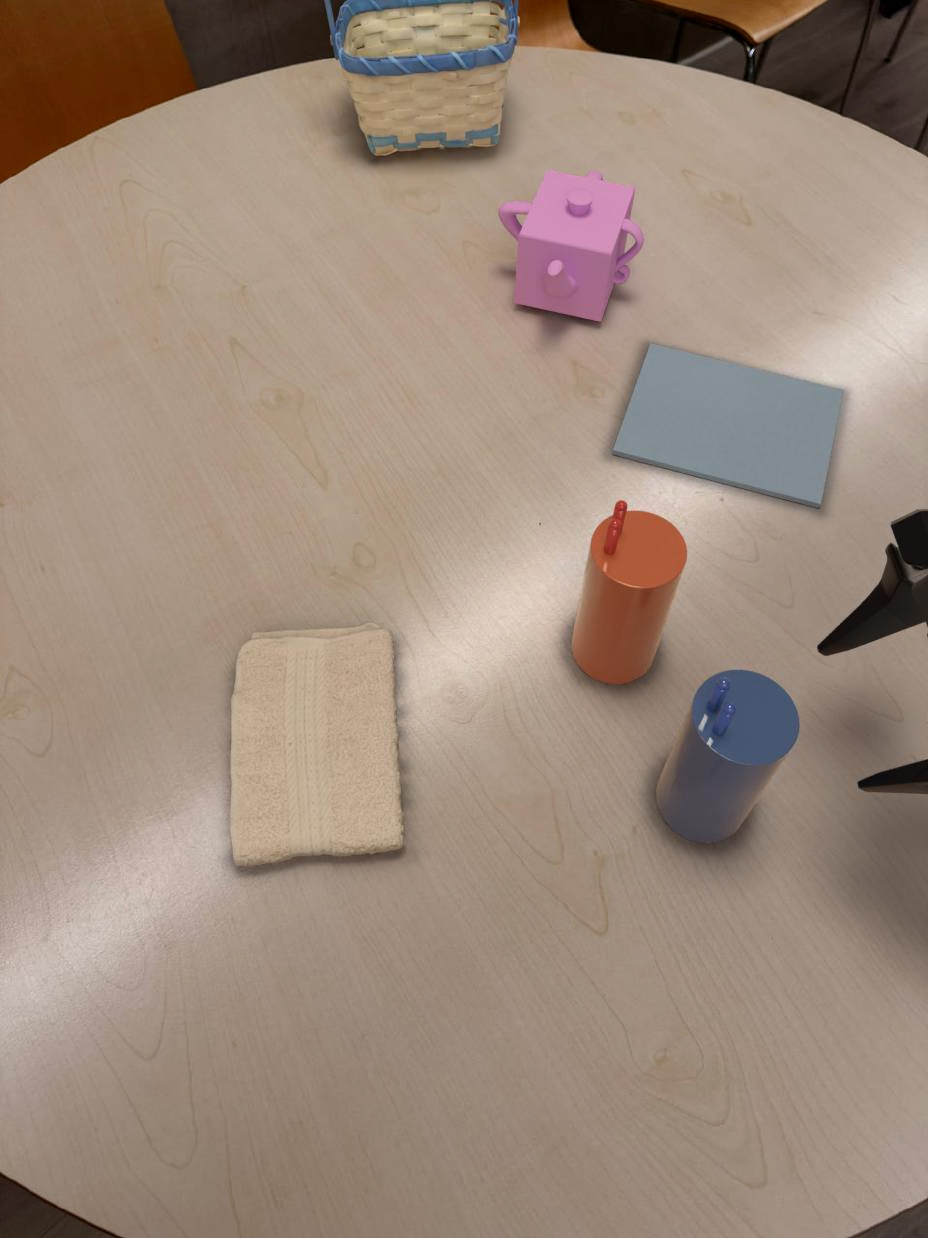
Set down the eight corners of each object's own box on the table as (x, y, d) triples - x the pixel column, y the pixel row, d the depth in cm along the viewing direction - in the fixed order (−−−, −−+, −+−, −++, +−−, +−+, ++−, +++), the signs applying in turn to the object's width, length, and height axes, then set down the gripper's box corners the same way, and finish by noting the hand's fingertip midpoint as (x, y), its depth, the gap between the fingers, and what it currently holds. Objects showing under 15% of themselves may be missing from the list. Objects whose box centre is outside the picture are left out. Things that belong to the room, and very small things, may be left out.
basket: (509, 84, 119) (521, -152, 100) (522, 170, 111) (538, -70, 91) (331, 88, 119) (306, -149, 99) (330, 175, 110) (303, -66, 90)
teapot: (610, 367, 95) (626, 278, 86) (467, 335, 97) (468, 245, 88) (649, 247, 104) (667, 155, 96) (518, 219, 106) (524, 128, 98)
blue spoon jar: (736, 755, 74) (800, 640, 61) (755, 840, 71) (828, 738, 57) (648, 760, 74) (693, 646, 60) (664, 846, 70) (715, 745, 57)
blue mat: (841, 394, 93) (844, 389, 93) (819, 508, 86) (821, 503, 86) (649, 347, 96) (650, 342, 96) (611, 454, 89) (612, 449, 89)
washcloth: (393, 633, 79) (391, 611, 77) (411, 856, 70) (410, 841, 67) (238, 646, 79) (231, 625, 76) (235, 874, 69) (227, 859, 66)
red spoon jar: (662, 626, 80) (706, 495, 66) (643, 694, 77) (685, 571, 63) (583, 603, 81) (610, 469, 67) (561, 670, 78) (584, 543, 64)
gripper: (996, 405, 53) (737, 542, 62) (1149, 728, 43) (814, 836, 52) (1065, 494, 60) (823, 606, 69) (1210, 789, 51) (906, 876, 59)
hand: (839, 716), depth 62 cm, fingers open, 9 cm apart
